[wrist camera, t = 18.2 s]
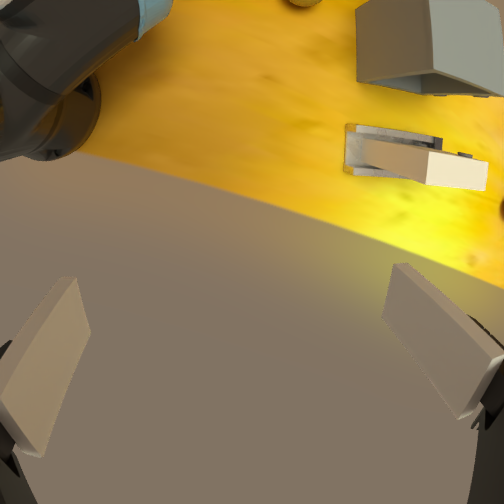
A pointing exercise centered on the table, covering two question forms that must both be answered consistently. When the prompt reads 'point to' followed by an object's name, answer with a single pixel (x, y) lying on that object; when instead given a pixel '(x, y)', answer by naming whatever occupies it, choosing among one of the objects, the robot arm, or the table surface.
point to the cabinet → (431, 46)
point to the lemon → (305, 2)
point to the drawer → (358, 132)
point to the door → (426, 164)
